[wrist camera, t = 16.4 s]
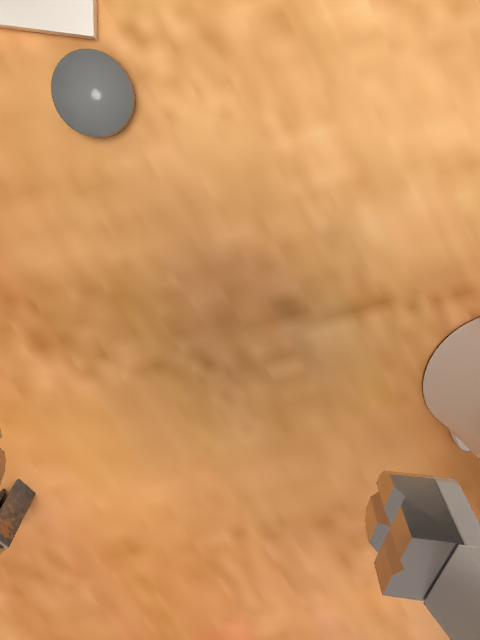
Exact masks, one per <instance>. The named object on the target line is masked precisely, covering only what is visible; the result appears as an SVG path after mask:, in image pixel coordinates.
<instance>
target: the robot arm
mask: <svg viewBox="0 0 480 640" xmlns="http://www.w3.org/2000/svg"><path fill="white" fill-rule="evenodd" d="M423 394H424V399H425V402H426V405H427V407H428V409H429V411H430V412H431V413H432V415H433V416H434V417H435V418H436V419H437V420H438V421H440V422H441V423H442V424H443V425H445V426H446V427H447V428H448V429H449V431H450V433H451V436H452V438H453V440H454V442H455V443H456V445H458V446H459V447H460V448H461V449H462V450H464V451H472V452H473V453H474V454H475V455H476V456H477V457H478V458H479V459H480V317H479V318H477V319H475V320H473V321H471V322H469V323H467V324H465V325H463V326H462V327H460V328H458V329H457V330H456V331H454V332H453V333H452V334H451V335H449V336H448V337H447V338H446V339H445V340H444V341H443V342H442V343H441V345H440V346H439V347H438V348H437V350H436V351H435V353H434V354H433V356H432V357H431V359H430V361H429V363H428V366H427V368H426V371H425V375H424V381H423ZM1 437H2V435H1V430H0V438H1ZM5 463H6V459H5V452H4V451H3V450H2V449H1V448H0V484H1V481H2V478H3V475H4V472H5ZM376 483H377V487H378V490H379V492H377V493H376V494H374V495H373V496H371V497H370V499H369V502H368V505H367V508H366V518H365V522H366V532H367V536H368V540H369V543H370V544H371V545H372V546H373V547H374V549H375V550H376V551H377V552H378V555H377V557H376V560H375V562H374V564H375V568H376V572H377V576H378V580H379V584H380V588H381V592H382V595H385V596H392V597H399V598H406V599H413V600H420V601H424V605H425V606H426V607H427V609H428V610H429V611H430V613H431V614H432V615H433V617H434V618H435V619H436V621H437V622H438V623H439V625H440V626H441V627H442V629H443V630H444V631H445V633H446V634H447V635H448V637H449V638H450V639H451V640H480V523H479V521H478V520H477V518H476V516H475V514H474V512H473V510H472V508H471V506H470V504H469V502H468V500H467V498H466V496H465V495H464V493H463V491H462V489H461V487H460V485H459V483H458V482H457V481H456V480H455V479H454V478H445V477H436V476H427V475H419V474H410V473H401V472H393V471H383V472H382V473H381V474H380V475H379V478H378V480H377V482H376Z"/></svg>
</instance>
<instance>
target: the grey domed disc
mask: <svg viewBox="0 0 480 640" xmlns="http://www.w3.org/2000/svg"><path fill="white" fill-rule="evenodd" d="M51 92H52V98H53V102H54V105H55V107H56V109H57V111H58V113H59V115H60V116H61V118H62V119H63V120H64V121H65V122H66V123H67V124H68V125H69V126H70V127H71V128H73V129H74V130H76V131H77V132H79V133H82V134H84V135H88V136H94V137H109V136H113V135H116V134H118V133H120V132H121V131H122V130H124V129H125V128H126V127H127V126H128V124H129V123H130V121H131V120H132V117H133V115H134V112H135V107H136V95H135V90H134V86H133V84H132V81H131V79H130V77H129V76H128V74H127V73H126V71H125V70H124V69H123V68H122V67H121V66H120V65H119V64H118V63H117V62H116V61H115V60H114V59H112V58H111V57H110V56H108V55H107V54H105V53H103V52H100V51H98V50H93V49H79V50H75V51H73V52H70V53H69V54H67V55H66V56H65V57H63V58H62V59H61V60H60V62H59V63H58V64H57V66H56V68H55V70H54V73H53V76H52V82H51Z"/></svg>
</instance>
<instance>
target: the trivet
mask: <svg viewBox="0 0 480 640" xmlns="http://www.w3.org/2000/svg"><path fill="white" fill-rule="evenodd" d="M0 28H7V29H15V30H23V31H31V32H38V33H46V34H54V35H62V36H70V37H77V38H85V39H93V40H97V0H0Z"/></svg>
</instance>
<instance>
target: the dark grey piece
mask: <svg viewBox="0 0 480 640" xmlns="http://www.w3.org/2000/svg"><path fill="white" fill-rule="evenodd" d="M5 492H6V490H5V489H2V490H1V491H0V500H1V499H2V497H3V495H4V493H5ZM35 494H36V493H35V492H34V491H32V490H31V489H30V488H29V487H28V486H27V485H26V484H24V483H23V482H22V481H21V480H20V479H18V480H17V481H16V483H15V484H14V486H13V488H12V490H11V491H10V493H9V495H8V497H7V498H6V500H5V502H4V504H3V505H2V507H1V509H0V554H1V552H2V551H4V550H6V549H7V548H9V546H10V544H11V542H12V540H13V538H14V536H15V534H16V532H17V530H18V528H19V526H20V524H21V522H22V520H23V518H24V516H25V514H26V512H27V510H28V508H29V506H30V504H31V502H32V500H33V498H34V496H35Z"/></svg>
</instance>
